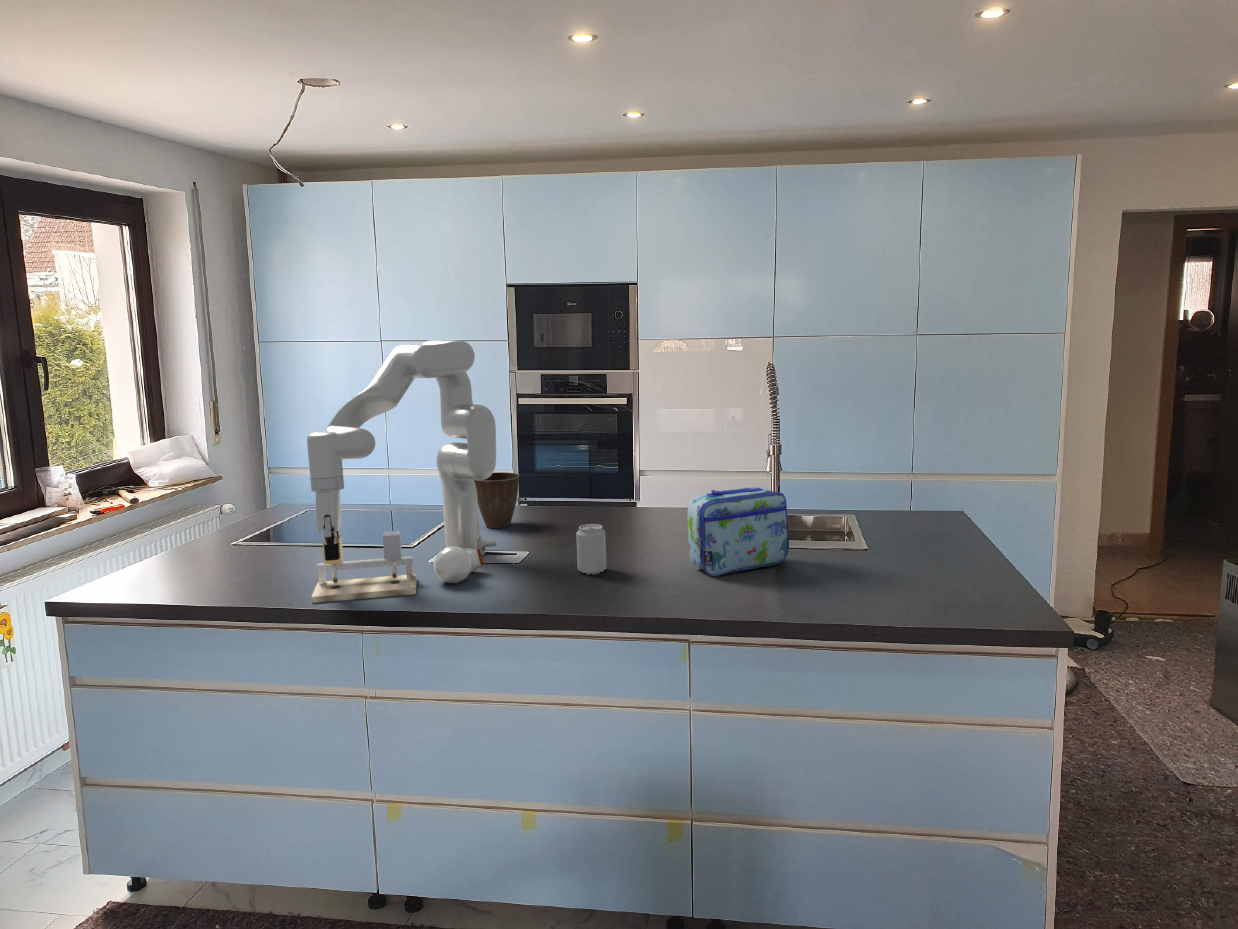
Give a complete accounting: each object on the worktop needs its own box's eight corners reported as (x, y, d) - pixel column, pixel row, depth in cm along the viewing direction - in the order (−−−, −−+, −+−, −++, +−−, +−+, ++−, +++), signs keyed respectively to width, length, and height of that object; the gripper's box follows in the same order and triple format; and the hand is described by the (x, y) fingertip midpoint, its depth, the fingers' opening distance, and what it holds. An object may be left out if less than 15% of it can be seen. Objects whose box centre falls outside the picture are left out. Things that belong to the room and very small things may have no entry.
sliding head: (346, 576, 219) (342, 532, 217) (343, 585, 213) (339, 539, 211) (329, 578, 219) (325, 533, 217) (326, 586, 212) (322, 540, 210)
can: (581, 576, 223) (579, 530, 221) (574, 568, 230) (573, 524, 228) (609, 573, 225) (608, 528, 223) (602, 565, 232) (601, 521, 230)
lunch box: (702, 580, 218) (701, 497, 214) (683, 569, 228) (682, 489, 224) (792, 567, 227) (793, 487, 224) (771, 556, 237) (771, 480, 233)
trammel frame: (414, 575, 223) (410, 527, 221) (413, 583, 216) (410, 534, 214) (319, 583, 218) (314, 534, 216) (315, 591, 212) (311, 541, 209)
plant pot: (468, 523, 282) (466, 474, 280) (513, 518, 289) (510, 470, 286) (481, 533, 269) (479, 482, 266) (528, 527, 275) (525, 477, 272)
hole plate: (416, 579, 224) (416, 573, 224) (415, 594, 213) (415, 587, 212) (318, 587, 219) (317, 581, 219) (311, 603, 208) (311, 596, 208)
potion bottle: (438, 594, 217) (468, 583, 231) (466, 573, 214) (495, 563, 228) (419, 562, 218) (450, 553, 232) (447, 541, 215) (477, 533, 229)
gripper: (315, 477, 217) (321, 549, 220) (306, 491, 201) (312, 568, 204) (346, 476, 219) (352, 547, 222) (340, 488, 203) (346, 565, 206)
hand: (333, 556), depth 213 cm, fingers closed on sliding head, 4 cm apart
